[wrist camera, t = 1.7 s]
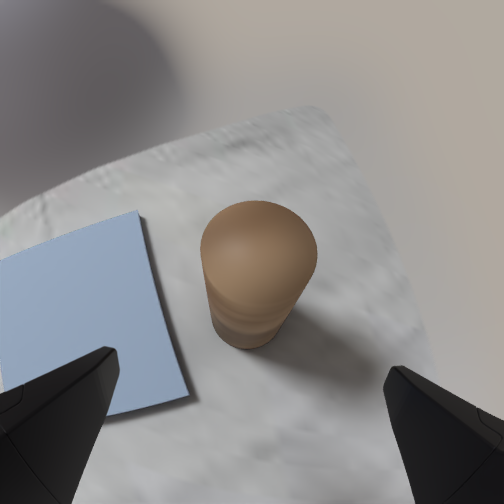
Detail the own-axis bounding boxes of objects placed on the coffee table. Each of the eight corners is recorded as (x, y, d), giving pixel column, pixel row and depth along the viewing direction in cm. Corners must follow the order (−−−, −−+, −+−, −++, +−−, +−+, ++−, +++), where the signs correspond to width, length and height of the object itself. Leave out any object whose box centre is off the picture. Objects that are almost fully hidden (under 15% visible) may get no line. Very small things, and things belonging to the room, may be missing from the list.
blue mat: (190, 395, 19) (188, 394, 18) (18, 429, 15) (12, 428, 14) (139, 215, 25) (137, 209, 25) (2, 264, 22) (-2, 261, 21)
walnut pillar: (293, 330, 21) (338, 272, 13) (229, 360, 20) (231, 323, 11) (261, 273, 24) (281, 188, 15) (200, 298, 22) (183, 222, 13)
